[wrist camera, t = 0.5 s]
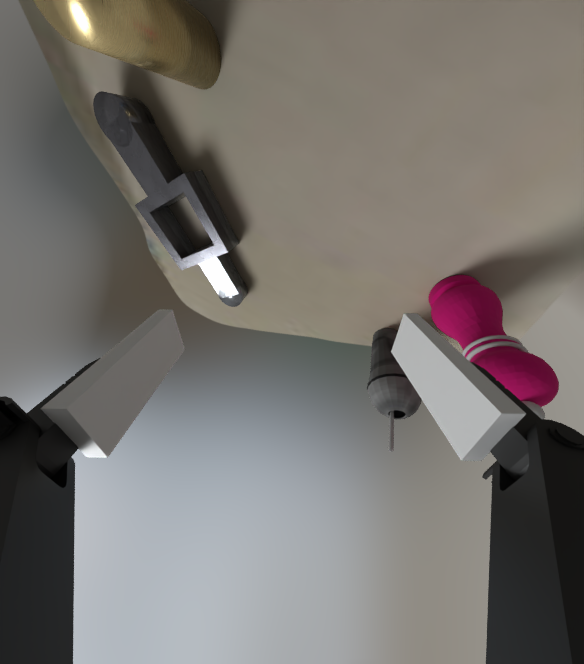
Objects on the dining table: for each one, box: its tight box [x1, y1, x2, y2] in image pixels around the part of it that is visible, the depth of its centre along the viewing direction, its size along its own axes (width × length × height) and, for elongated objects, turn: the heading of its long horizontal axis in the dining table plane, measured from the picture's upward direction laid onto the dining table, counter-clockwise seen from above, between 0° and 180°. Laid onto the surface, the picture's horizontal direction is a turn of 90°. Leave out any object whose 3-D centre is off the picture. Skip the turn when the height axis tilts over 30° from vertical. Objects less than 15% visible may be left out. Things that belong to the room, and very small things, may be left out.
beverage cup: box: [367, 328, 421, 451], centre depth 32 cm, size 7×7×20 cm
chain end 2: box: [159, 170, 248, 307], centre depth 35 cm, size 19×10×3 cm, turn 22°
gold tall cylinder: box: [34, 0, 221, 89], centre depth 17 cm, size 5×5×14 cm
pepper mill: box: [429, 275, 559, 419], centre depth 24 cm, size 7×7×20 cm
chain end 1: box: [93, 92, 234, 270], centre depth 29 cm, size 19×10×4 cm, turn 22°
